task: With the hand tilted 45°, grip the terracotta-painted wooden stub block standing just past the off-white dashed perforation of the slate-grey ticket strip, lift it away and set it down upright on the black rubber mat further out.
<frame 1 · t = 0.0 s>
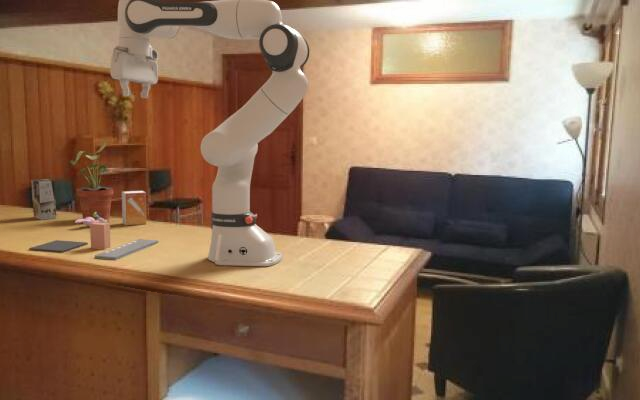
hand: (135, 97, 156), 48 cm above the table, tool pointing down, fingers open, 8 cm apart
potted plant: (94, 220, 213), on the table
rabbit figure: (92, 227, 200), on the table
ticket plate: (128, 249, 164), on the table
small box: (134, 224, 207), on the table
coffee box: (45, 218, 216), on the table
stub block: (100, 247, 166), on the table
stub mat: (59, 247, 166), on the table
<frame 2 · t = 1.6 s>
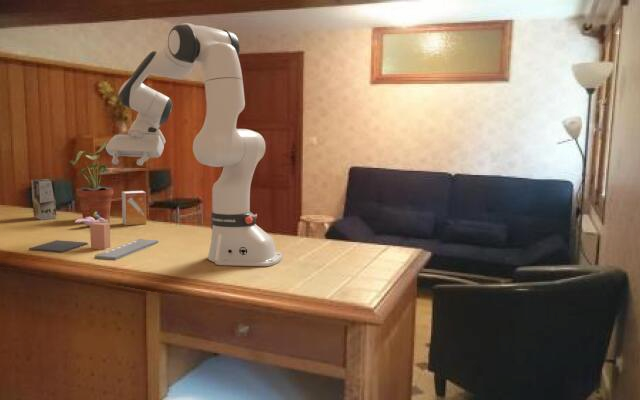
hand: (126, 163, 178), 26 cm above the table, tool tilted 45°, fingers open, 8 cm apart
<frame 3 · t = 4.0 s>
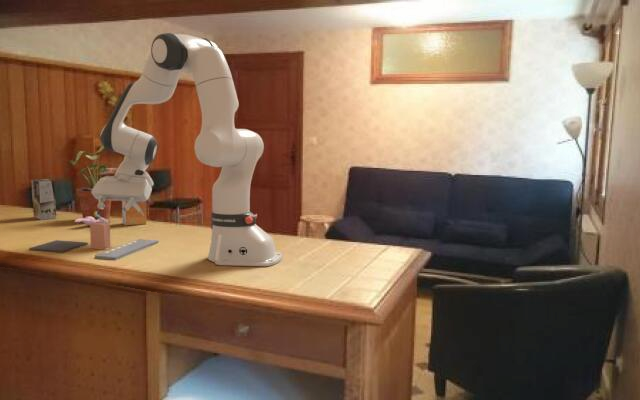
hand: (112, 208, 171), 12 cm above the table, tool tilted 45°, fingers open, 8 cm apart
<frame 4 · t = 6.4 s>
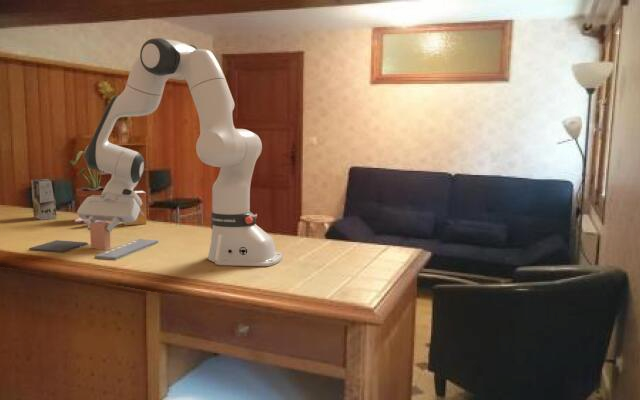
hand: (98, 230, 164), 6 cm above the table, tool tilted 45°, fingers closed on stub block, 5 cm apart
stub block: (100, 247, 166), on the table, touching gripper
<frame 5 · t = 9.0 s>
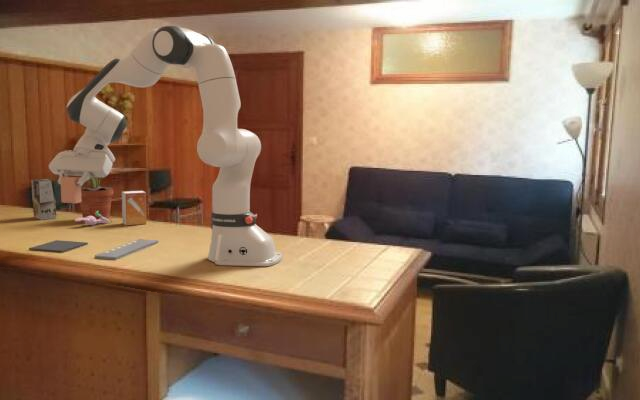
hand: (69, 184, 163), 21 cm above the table, tool tilted 45°, fingers closed on stub block, 5 cm apart
stub block: (71, 202, 164), point 15 cm above the table, touching gripper
when the fingers open (8 cm above the table, at t = 12.0 s): stub block drops 1 cm, resting on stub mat.
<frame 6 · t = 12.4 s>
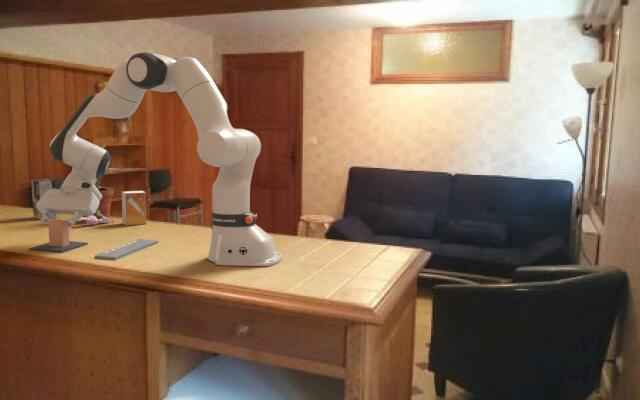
hand: (56, 223, 164), 8 cm above the table, tool tilted 45°, fingers open, 8 cm apart
stub block: (59, 245, 166), point 1 cm above the table, touching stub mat
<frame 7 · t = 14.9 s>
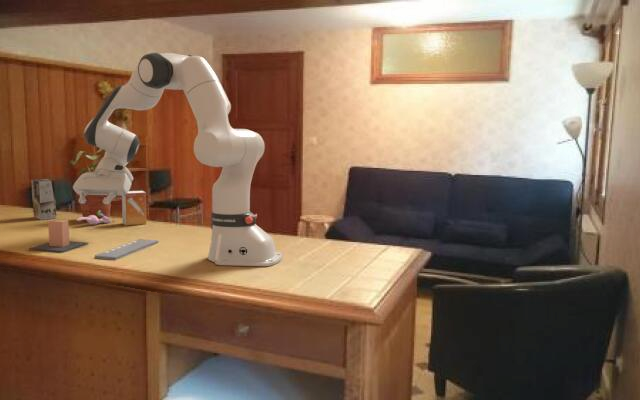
hand: (93, 202, 177), 13 cm above the table, tool tilted 45°, fingers open, 8 cm apart
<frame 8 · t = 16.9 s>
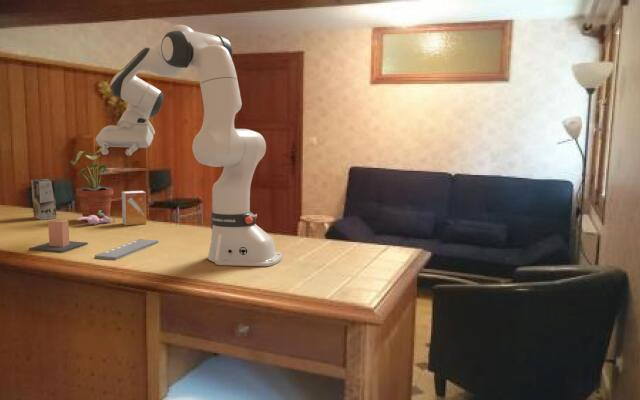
hand: (115, 153, 180), 29 cm above the table, tool tilted 45°, fingers open, 8 cm apart
at the end: stub block inside the target area on the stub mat (0.1 cm from its centre), point 0.6 cm above the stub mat's base; stub block tilted 0°; the gripper is holding nothing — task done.
